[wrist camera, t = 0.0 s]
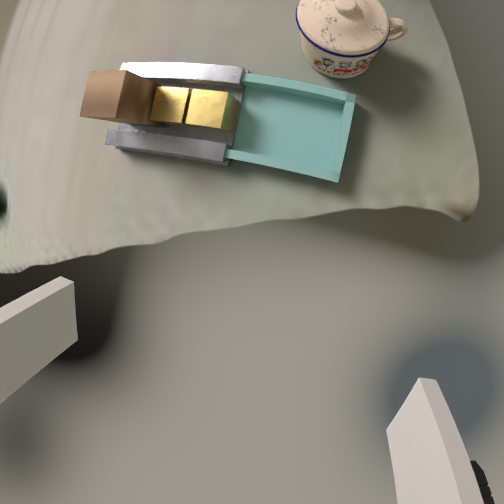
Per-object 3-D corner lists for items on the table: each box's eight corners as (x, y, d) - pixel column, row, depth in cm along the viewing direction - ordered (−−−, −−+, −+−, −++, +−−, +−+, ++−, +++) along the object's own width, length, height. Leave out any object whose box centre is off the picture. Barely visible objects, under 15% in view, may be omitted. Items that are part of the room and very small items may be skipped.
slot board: (136, 66, 34) (123, 59, 31) (249, 72, 33) (243, 63, 29) (119, 149, 38) (104, 148, 35) (229, 166, 36) (221, 166, 33)
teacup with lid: (308, 85, 32) (306, 50, 21) (292, 22, 30) (283, -28, 19) (404, 77, 29) (438, 45, 18) (385, 15, 27) (406, -32, 16)
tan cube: (171, 93, 34) (157, 86, 30) (201, 95, 33) (188, 88, 30) (165, 123, 35) (149, 119, 31) (194, 127, 34) (181, 122, 31)
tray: (248, 79, 33) (242, 72, 30) (352, 100, 31) (356, 94, 28) (231, 158, 36) (224, 157, 33) (335, 181, 34) (338, 182, 31)
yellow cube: (204, 96, 33) (193, 88, 29) (237, 100, 33) (228, 92, 29) (198, 127, 34) (185, 123, 31) (230, 132, 34) (220, 128, 30)
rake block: (136, 88, 34) (89, 71, 25) (169, 89, 34) (126, 69, 24) (128, 124, 36) (79, 116, 26) (160, 127, 35) (115, 117, 26)
